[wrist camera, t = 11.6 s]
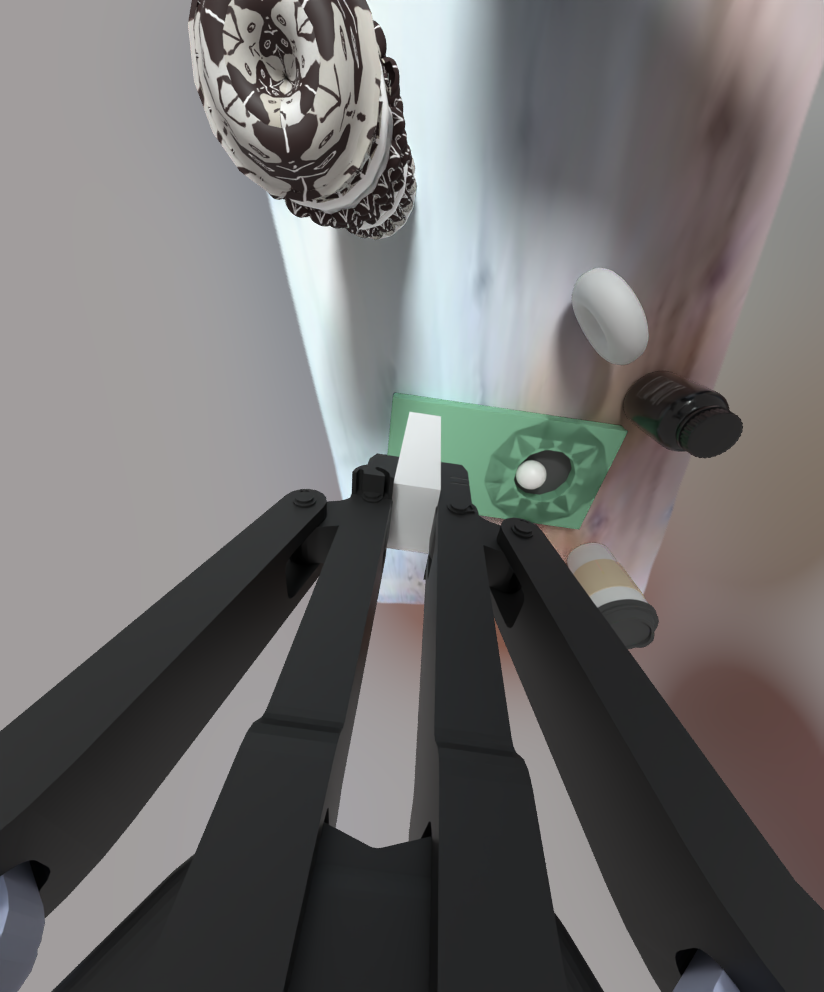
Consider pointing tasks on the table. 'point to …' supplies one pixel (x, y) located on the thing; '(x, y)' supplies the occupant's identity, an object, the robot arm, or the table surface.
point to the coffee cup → (614, 594)
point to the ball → (531, 474)
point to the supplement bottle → (682, 414)
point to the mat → (518, 456)
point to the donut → (610, 316)
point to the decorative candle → (308, 107)
